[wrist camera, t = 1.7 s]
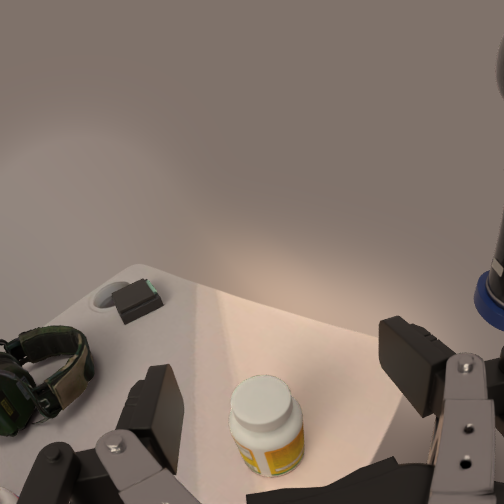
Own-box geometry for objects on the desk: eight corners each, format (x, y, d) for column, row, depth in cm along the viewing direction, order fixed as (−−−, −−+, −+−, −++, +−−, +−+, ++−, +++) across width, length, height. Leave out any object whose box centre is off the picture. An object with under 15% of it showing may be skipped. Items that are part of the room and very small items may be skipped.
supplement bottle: (237, 473, 22) (207, 425, 18) (252, 424, 27) (231, 363, 22) (299, 481, 21) (293, 437, 16) (309, 430, 25) (306, 369, 20)
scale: (150, 286, 50) (145, 275, 49) (163, 305, 45) (159, 293, 44) (114, 303, 47) (109, 292, 46) (124, 324, 42) (118, 313, 41)
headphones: (-3, 460, 17) (121, 359, 33) (-71, 349, 17) (55, 273, 34) (11, 461, 24) (102, 386, 41) (-44, 381, 25) (49, 319, 41)
